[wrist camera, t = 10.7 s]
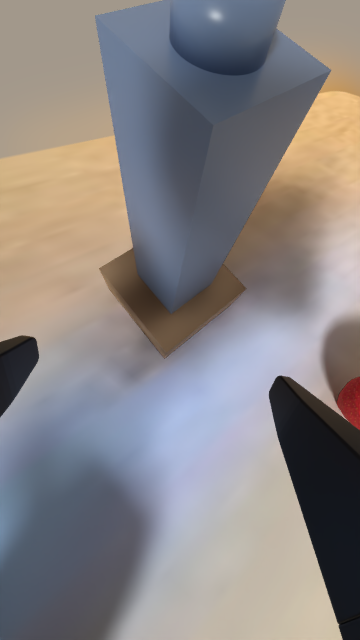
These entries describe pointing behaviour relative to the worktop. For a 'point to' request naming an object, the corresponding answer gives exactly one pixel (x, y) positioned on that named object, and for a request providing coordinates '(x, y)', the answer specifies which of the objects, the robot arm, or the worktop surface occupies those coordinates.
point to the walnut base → (153, 314)
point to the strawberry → (350, 402)
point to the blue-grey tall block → (199, 126)
